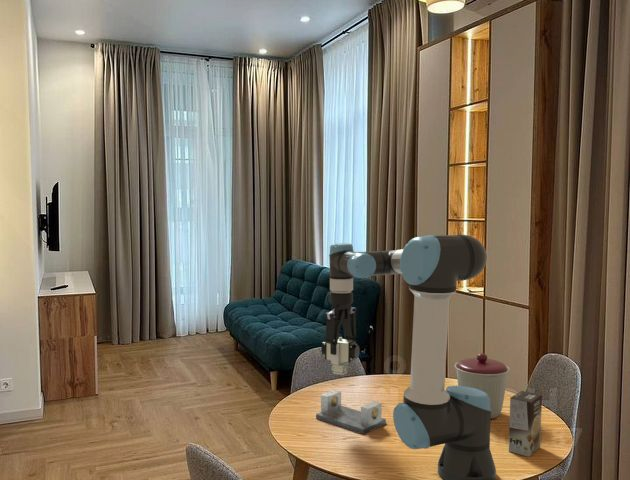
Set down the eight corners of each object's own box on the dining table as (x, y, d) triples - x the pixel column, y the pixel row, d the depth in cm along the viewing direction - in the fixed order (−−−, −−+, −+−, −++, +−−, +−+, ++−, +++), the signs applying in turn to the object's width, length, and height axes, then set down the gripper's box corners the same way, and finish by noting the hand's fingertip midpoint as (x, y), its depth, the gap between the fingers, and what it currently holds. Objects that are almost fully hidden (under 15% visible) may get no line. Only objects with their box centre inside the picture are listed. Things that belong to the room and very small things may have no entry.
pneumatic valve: (354, 377, 190) (354, 340, 189) (320, 373, 195) (321, 336, 194) (360, 373, 195) (360, 337, 194) (327, 369, 200) (328, 333, 199)
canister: (490, 402, 216) (491, 345, 215) (519, 421, 199) (521, 358, 197) (444, 407, 212) (445, 348, 210) (470, 426, 194) (471, 362, 193)
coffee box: (529, 457, 171) (531, 402, 170) (508, 451, 175) (509, 397, 174) (540, 447, 178) (542, 394, 177) (519, 441, 182) (521, 389, 181)
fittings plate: (386, 423, 196) (386, 401, 196) (363, 434, 188) (363, 410, 187) (338, 408, 210) (338, 388, 209) (315, 418, 201) (315, 396, 200)
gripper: (349, 286, 203) (349, 354, 204) (313, 293, 188) (313, 366, 190) (367, 289, 198) (367, 358, 199) (332, 296, 184) (332, 370, 185)
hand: (341, 361), depth 195 cm, fingers closed on pneumatic valve, 6 cm apart
